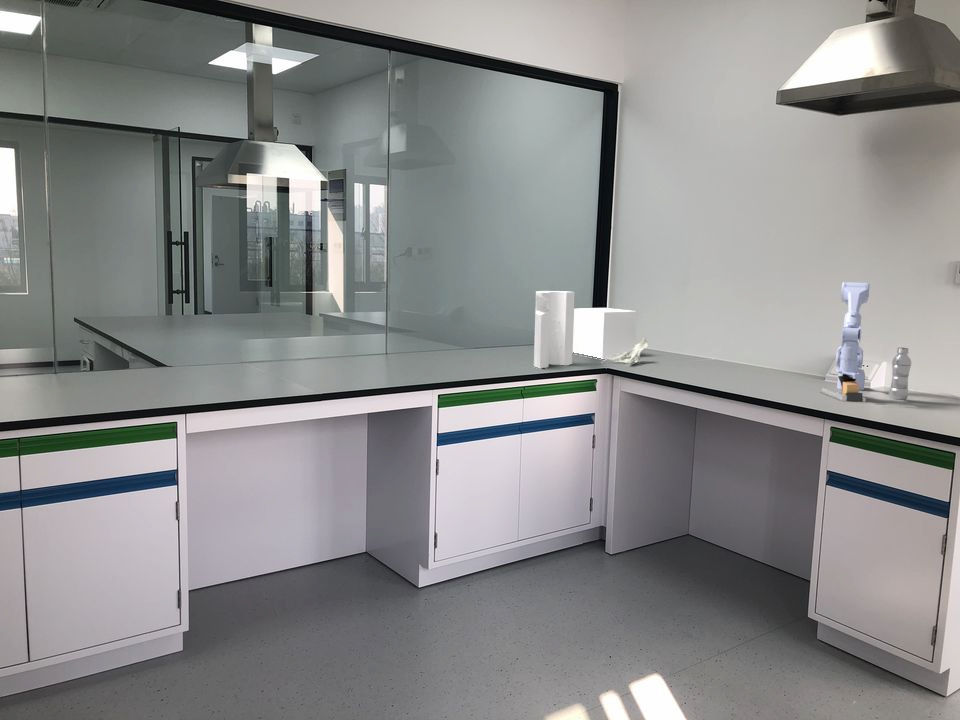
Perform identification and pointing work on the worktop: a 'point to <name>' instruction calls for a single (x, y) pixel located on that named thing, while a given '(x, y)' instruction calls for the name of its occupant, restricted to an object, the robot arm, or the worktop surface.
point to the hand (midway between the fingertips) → (845, 394)
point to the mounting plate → (841, 397)
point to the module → (850, 387)
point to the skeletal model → (630, 354)
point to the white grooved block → (553, 328)
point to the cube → (603, 331)
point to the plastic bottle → (900, 375)
